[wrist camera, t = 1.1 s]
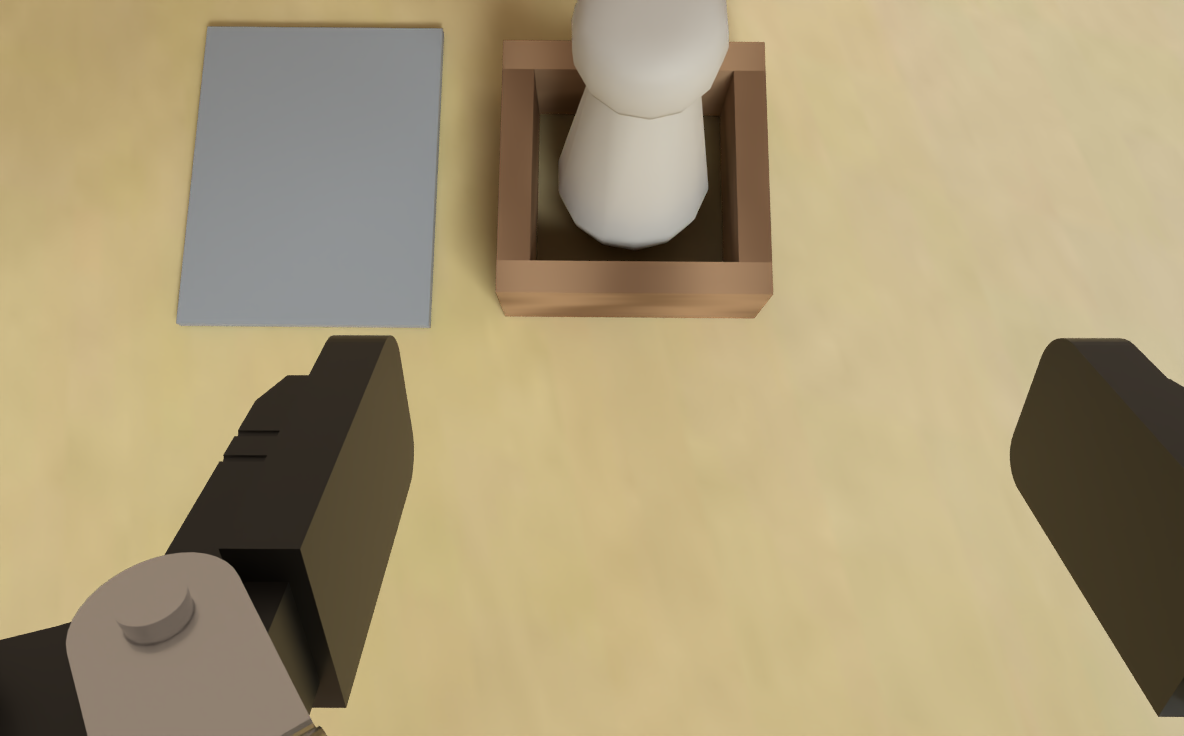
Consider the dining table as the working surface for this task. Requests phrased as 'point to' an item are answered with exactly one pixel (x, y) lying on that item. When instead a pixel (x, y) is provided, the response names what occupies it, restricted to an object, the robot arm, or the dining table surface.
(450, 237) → the dining table surface
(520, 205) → the pocket block
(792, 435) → the dining table surface
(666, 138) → the salt shaker
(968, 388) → the dining table surface
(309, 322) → the rubber mat
